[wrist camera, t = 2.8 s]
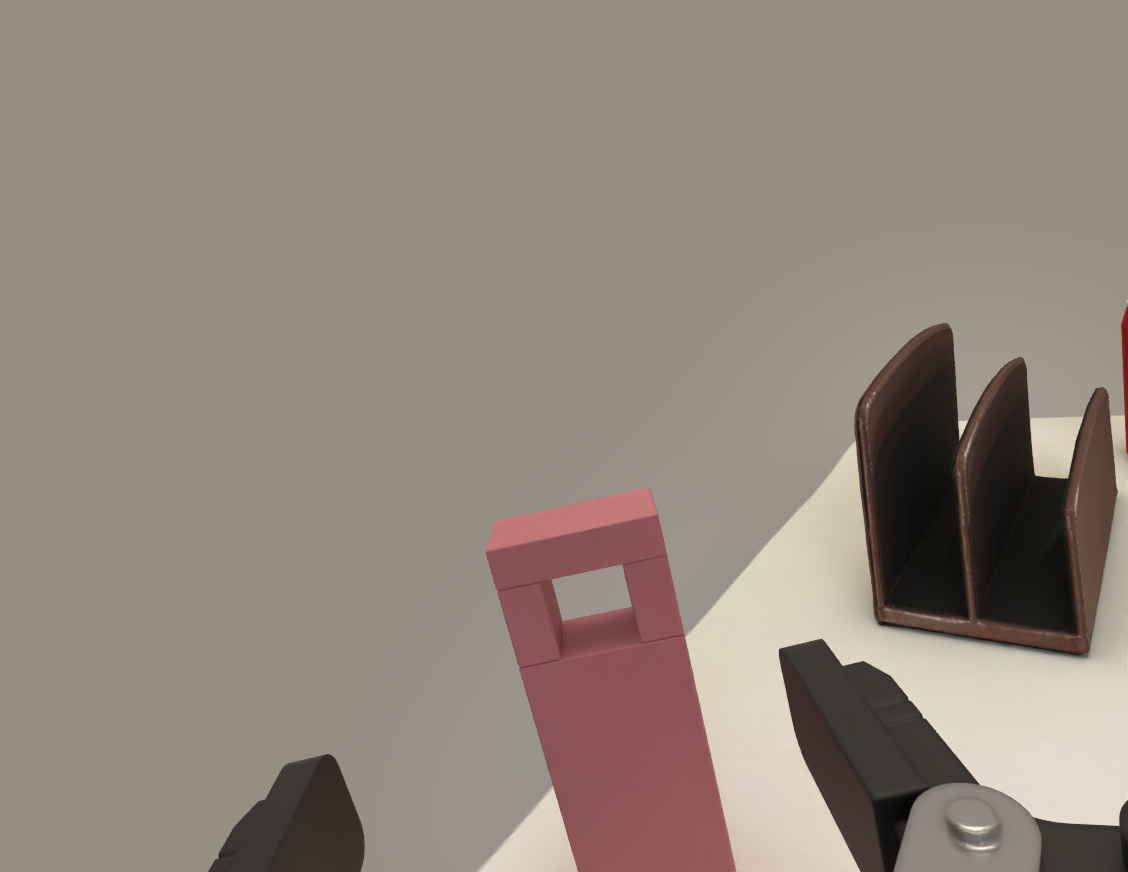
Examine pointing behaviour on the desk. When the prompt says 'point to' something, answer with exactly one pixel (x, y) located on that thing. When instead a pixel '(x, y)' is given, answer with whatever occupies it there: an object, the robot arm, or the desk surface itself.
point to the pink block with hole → (612, 689)
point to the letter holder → (979, 506)
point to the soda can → (1125, 367)
